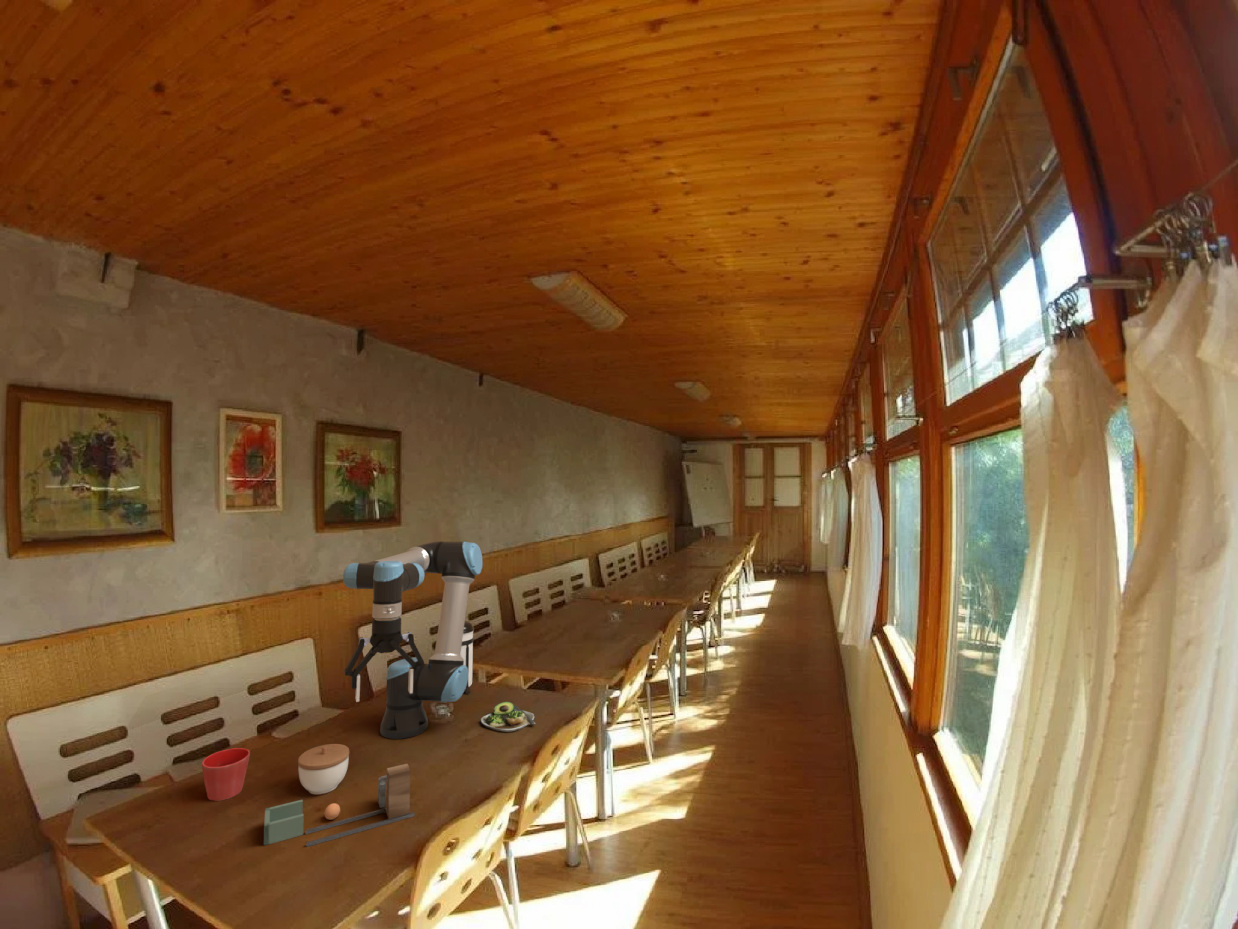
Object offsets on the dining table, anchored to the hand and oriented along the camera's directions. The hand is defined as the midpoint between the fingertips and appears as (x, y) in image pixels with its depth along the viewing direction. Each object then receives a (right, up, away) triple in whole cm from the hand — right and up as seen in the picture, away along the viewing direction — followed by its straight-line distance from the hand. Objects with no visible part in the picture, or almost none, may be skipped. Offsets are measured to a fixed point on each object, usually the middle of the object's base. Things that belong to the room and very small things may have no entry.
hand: (384, 696), depth 155 cm
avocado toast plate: (+25, -28, +45) cm, 58 cm away
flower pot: (-42, -26, -2) cm, 49 cm away
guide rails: (+1, -25, -16) cm, 30 cm away
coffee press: (-1, -28, +73) cm, 78 cm away
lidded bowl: (-17, -26, +1) cm, 31 cm away
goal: (-17, -25, -18) cm, 35 cm away
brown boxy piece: (+6, -25, -9) cm, 27 cm away
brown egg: (-8, -25, -13) cm, 30 cm away
